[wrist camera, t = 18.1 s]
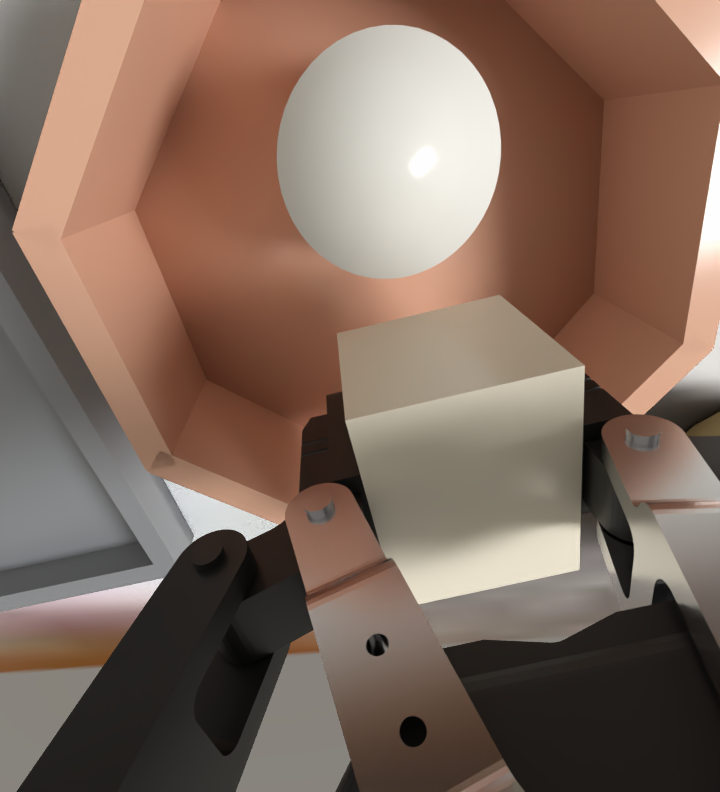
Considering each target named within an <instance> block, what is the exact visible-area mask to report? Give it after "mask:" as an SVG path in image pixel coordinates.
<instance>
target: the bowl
mask: <svg viewBox="0 0 720 792" xmlns="http://www.w3.org/2000/svg"><path fill="white" fill-rule="evenodd" d="M382 25H404V26H410V27H415V28H420V29H422V30H425V31H428V32H431V33H434V34H435V35H437V36H439V37H441V38H443V39H444V40H446V41H448V42H449V43H451V44H452V45H453V46H454V47H456V48H457V49H458V50H460V51H461V52H462V53H463V54H464V55H465V56H466V57H467V59H468V60H469V61H470V62H471V63H472V64H473V65H474V67H475V68H476V70H477V71H478V72H479V74H480V75H481V77H482V78H483V80H484V82H485V84H486V86H487V88H488V90H489V92H490V94H491V97H492V100H493V103H494V105H495V108H496V112H497V117H498V121H499V127H500V137H501V160H500V167H499V175H498V179H497V183H496V187H495V190H494V193H493V196H492V199H491V201H490V204H489V206H488V208H487V210H486V212H485V214H484V216H483V218H482V220H481V221H480V223H479V224H478V226H477V228H476V229H475V231H474V232H473V233H472V234H471V236H470V237H469V238H468V239H467V240H466V242H465V243H464V244H463V245H462V246H461V247H460V248H459V249H458V250H456V251H455V252H454V253H453V254H452V255H450V256H449V257H448V258H446V259H445V260H444V261H442V262H440V263H439V264H437V265H435V266H434V267H432V268H430V269H427V270H425V271H423V272H421V273H417V274H414V275H411V276H407V277H401V278H395V279H377V278H368V277H364V276H359V275H355V274H353V273H350V272H348V271H345V270H343V269H341V268H339V267H337V266H335V265H334V264H332V263H330V262H329V261H328V260H326V259H325V258H323V257H322V256H321V255H320V254H318V253H317V252H316V251H315V250H314V249H313V248H312V247H311V246H310V245H309V244H308V242H307V241H306V240H305V239H304V238H303V236H302V235H301V234H300V232H299V231H298V229H297V227H296V226H295V224H294V223H293V221H292V219H291V217H290V214H289V212H288V210H287V208H286V205H285V202H284V199H283V196H282V193H281V189H280V184H279V179H278V170H277V141H278V134H279V128H280V123H281V120H282V116H283V113H284V109H285V107H286V104H287V102H288V99H289V97H290V95H291V92H292V91H293V89H294V87H295V85H296V84H297V82H298V80H299V79H300V77H301V76H302V74H303V73H304V72H305V70H306V69H307V68H308V67H309V65H310V64H311V63H312V62H313V61H314V60H315V59H316V58H317V57H318V56H319V55H320V54H321V53H322V52H323V51H324V50H326V49H327V48H328V47H330V46H331V45H332V44H334V43H335V42H337V41H338V40H340V39H342V38H344V37H346V36H348V35H350V34H352V33H354V32H357V31H360V30H363V29H366V28H369V27H376V26H382ZM12 231H14V232H13V235H14V237H15V239H16V240H17V242H18V244H19V246H20V247H21V249H22V251H23V253H24V254H25V256H26V258H27V260H28V262H29V263H30V265H31V267H32V269H33V270H34V272H35V274H36V276H37V278H38V279H39V281H40V283H41V285H42V286H43V288H44V290H45V292H46V294H47V295H48V297H49V299H50V301H51V302H52V304H53V306H54V308H55V310H56V311H57V313H58V315H59V317H60V318H61V320H62V322H63V324H64V326H65V327H66V329H67V331H68V333H69V334H70V336H71V338H72V340H73V342H74V343H75V345H76V347H77V349H78V350H79V352H80V354H81V356H82V358H83V359H84V361H85V363H86V365H87V366H88V368H89V370H90V372H91V374H92V375H93V377H94V379H95V381H96V382H97V384H98V386H99V388H100V390H101V391H102V393H103V395H104V397H105V398H106V400H107V402H108V404H109V406H110V407H111V409H112V411H113V413H114V414H115V416H116V418H117V420H118V422H119V423H120V425H121V427H122V429H123V430H124V432H125V434H126V436H127V438H128V439H129V441H130V443H131V445H132V446H133V448H134V450H135V452H136V454H137V455H138V457H139V459H140V461H141V462H142V464H143V466H144V468H145V470H146V471H148V473H151V474H153V475H156V476H158V477H161V478H163V479H166V480H168V481H171V482H174V483H176V484H179V485H181V486H184V487H186V488H189V489H191V490H194V491H196V492H199V493H201V494H204V495H206V496H209V497H211V498H214V499H216V500H219V501H221V502H224V503H226V504H229V505H231V506H234V507H236V508H239V509H241V510H244V511H246V512H249V513H251V514H254V515H256V516H259V517H261V518H264V519H266V520H269V521H271V522H274V523H276V524H281V523H282V522H283V521H284V520H285V512H286V508H287V506H288V505H289V503H290V502H291V500H292V499H293V498H294V497H295V496H296V495H297V494H299V481H300V463H301V457H302V456H301V446H302V430H303V429H304V427H305V426H306V424H307V423H308V421H309V420H310V418H312V417H316V416H321V415H325V414H327V404H326V395H329V394H333V393H337V392H342V382H341V372H340V362H339V351H338V341H337V333H340V332H345V331H349V330H353V329H357V328H361V327H366V326H370V325H374V324H378V323H383V322H387V321H391V320H395V319H399V318H404V317H408V316H412V315H416V314H420V313H425V312H429V311H433V310H437V309H441V308H446V307H450V306H454V305H458V304H463V303H467V302H471V301H475V300H479V299H484V298H488V297H492V296H496V295H501V296H502V297H503V298H504V299H505V300H507V301H508V302H509V303H510V304H512V305H513V306H514V307H515V308H516V309H518V310H519V311H520V312H521V313H522V314H524V315H525V316H526V317H527V318H528V319H530V320H531V321H532V322H533V323H534V324H536V325H537V326H538V327H539V328H540V329H542V330H543V331H544V332H545V333H546V334H548V335H549V336H550V337H551V338H552V339H554V340H555V341H556V342H557V343H558V344H560V345H561V346H562V347H563V348H564V349H566V350H567V351H568V352H569V353H570V354H572V355H573V356H574V357H575V358H576V359H578V360H579V361H580V362H581V363H582V364H584V365H585V373H586V374H587V375H588V376H589V377H590V378H591V380H594V381H595V382H596V383H597V384H598V385H600V387H601V389H602V388H603V389H604V390H605V391H607V392H608V393H609V394H610V395H611V396H612V397H614V398H615V399H616V400H617V401H618V402H619V403H621V404H622V405H623V406H624V407H625V408H626V409H627V410H629V411H630V412H631V413H632V414H642V415H644V414H645V413H646V412H647V411H648V410H649V409H651V408H652V407H653V406H654V405H655V404H656V403H657V402H658V401H659V400H660V399H661V398H662V397H663V396H664V395H665V394H666V393H667V392H669V391H670V390H671V389H672V388H673V387H674V386H675V385H676V384H677V383H678V382H679V381H680V380H681V379H682V378H683V377H684V376H686V375H687V374H688V373H689V372H690V371H691V370H692V369H693V368H694V367H695V366H696V365H697V364H698V363H699V362H700V361H701V360H702V359H704V358H705V357H706V356H707V355H708V354H709V353H710V352H711V351H712V348H714V344H715V339H716V334H717V329H718V324H719V320H720V0H81V4H80V7H79V10H78V14H77V17H76V20H75V24H74V27H73V30H72V34H71V37H70V40H69V43H68V47H67V50H66V53H65V57H64V60H63V63H62V67H61V70H60V73H59V76H58V80H57V83H56V86H55V90H54V93H53V96H52V100H51V103H50V106H49V109H48V113H47V116H46V119H45V123H44V126H43V129H42V133H41V136H40V139H39V142H38V146H37V149H36V152H35V156H34V159H33V162H32V166H31V169H30V172H29V175H28V179H27V182H26V185H25V189H24V192H23V195H22V199H21V202H20V205H19V208H18V212H17V215H16V218H15V222H14V225H13V228H12Z"/></svg>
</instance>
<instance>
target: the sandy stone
mask: <svg viewBox="0 0 720 792" xmlns="http://www.w3.org/2000/svg"><path fill="white" fill-rule="evenodd" d="M337 341H338V351H339V362H340V372H341V382H342V393H343V403H344V413H345V422H346V425H347V429H348V432H349V436H350V440H351V443H352V447H353V450H354V454H355V457H356V461H357V464H358V468H359V472H360V475H361V479H362V482H363V486H364V489H365V493H366V497H367V500H368V504H369V507H370V511H371V514H372V518H373V522H374V525H375V529H376V532H377V536H378V539H379V543H380V547H381V549H382V551H383V553H384V554H385V556H386V558H387V559H388V558H390V557H391V558H392V559H393V560H394V561H395V563H396V564H397V566H398V568H399V570H400V571H401V573H402V575H403V577H404V579H405V581H406V582H407V584H408V586H409V588H410V590H411V592H412V593H413V595H414V597H415V599H416V601H417V603H418V604H422V603H427V602H431V601H436V600H441V599H445V598H450V597H455V596H459V595H464V594H469V593H473V592H478V591H483V590H487V589H492V588H497V587H501V586H506V585H511V584H515V583H520V582H525V581H529V580H534V579H539V578H543V577H548V576H553V575H557V574H562V573H567V572H571V571H576V570H579V563H580V526H581V489H582V452H583V415H584V378H585V365H584V364H582V363H581V362H580V361H579V360H578V359H576V358H575V357H574V356H573V355H572V354H570V353H569V352H568V351H567V350H566V349H564V348H563V347H562V346H561V345H560V344H558V343H557V342H556V341H555V340H554V339H552V338H551V337H550V336H549V335H548V334H546V333H545V332H544V331H543V330H542V329H540V328H539V327H538V326H537V325H536V324H534V323H533V322H532V321H531V320H530V319H528V318H527V317H526V316H525V315H524V314H522V313H521V312H520V311H519V310H518V309H516V308H515V307H514V306H513V305H512V304H510V303H509V302H508V301H507V300H505V299H504V298H503V297H502V296H501V295H496V296H492V297H488V298H484V299H479V300H475V301H471V302H467V303H463V304H458V305H454V306H450V307H446V308H441V309H437V310H433V311H429V312H425V313H420V314H416V315H412V316H408V317H404V318H399V319H395V320H391V321H387V322H383V323H378V324H374V325H370V326H366V327H361V328H357V329H353V330H349V331H345V332H340V333H337Z"/></svg>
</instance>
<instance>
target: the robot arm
mask: <svg viewBox="0 0 720 792" xmlns="http://www.w3.org/2000/svg"><path fill="white" fill-rule="evenodd" d="M326 404H327V414H325V415H321V416H316V417H312V418H310V420H309V421H308V423H307V424H306V426H305V427H304V429H303V430H302V446H301V456H302V457H301V463H300V481H299V494H297V495H296V496H295V497H294V498H293V499H292V500H291V502H290V503H289V505H288V506H287V508H286V512H285V520H284V521H283V522H282V523H281V524H279V525H278V526H276V527H275V528H273V529H271V530H269V531H267V532H265V533H263V534H261V535H259V536H257V537H255V538H253V539H251V540H249V541H246V539H245V537H244V536H243V535H242V534H241V533H239V532H237V531H234V530H218V531H214V532H211V533H209V534H206V535H204V536H202V537H200V538H199V539H197V540H196V541H194V542H193V543H192V544H190V545H189V546H188V547H187V548H186V549H185V550H184V551H183V552H182V553H181V555H180V556H179V557H178V559H177V560H176V562H175V563H174V565H173V566H172V568H171V569H170V570H169V572H168V573H167V575H166V576H165V578H164V579H163V581H162V582H161V583H160V585H159V586H158V588H157V589H156V591H155V592H154V594H153V595H152V596H151V598H150V599H149V601H148V602H147V604H146V605H145V607H144V608H143V609H142V611H141V612H140V614H139V615H138V617H137V618H136V620H135V621H134V622H133V624H132V625H131V627H130V628H129V630H128V631H127V633H126V634H125V636H124V637H123V638H122V640H121V641H120V643H119V644H118V646H117V647H116V649H115V650H114V651H113V653H112V654H111V656H110V657H109V659H108V660H107V662H106V663H105V664H104V666H103V667H102V669H101V670H100V672H99V673H98V675H97V676H96V678H95V679H94V680H93V682H92V684H91V685H90V686H89V688H88V689H87V690H86V692H85V693H84V695H83V696H82V698H81V699H80V701H79V702H78V704H77V705H76V706H75V708H74V709H73V711H72V712H71V714H70V715H69V717H68V718H67V720H66V721H65V723H64V724H63V725H62V727H61V728H60V730H59V731H58V732H57V734H56V735H55V737H54V738H53V740H52V741H51V743H50V744H49V746H48V747H47V748H46V750H45V751H44V753H43V754H42V756H41V757H40V758H39V760H38V761H37V763H36V764H35V766H34V767H33V769H32V770H31V771H30V773H29V774H28V776H27V777H26V779H25V780H24V782H23V783H22V785H21V786H20V787H19V789H18V790H17V792H236V789H237V786H238V784H239V781H240V778H241V776H242V773H243V770H244V768H245V765H246V762H247V760H248V757H249V754H250V752H251V749H252V746H253V744H254V741H255V738H256V736H257V733H258V730H259V728H260V725H261V722H262V720H263V717H264V714H265V712H266V709H267V706H268V704H269V701H270V698H271V696H272V693H273V690H274V688H275V685H276V682H277V680H278V677H279V674H280V672H281V669H282V666H283V664H284V661H285V658H286V656H287V653H288V650H289V647H290V643H291V642H293V641H294V640H296V639H298V638H300V637H302V636H303V635H305V634H307V633H309V632H310V631H312V630H314V633H315V636H316V640H317V644H318V647H319V651H320V654H321V658H322V661H323V665H324V668H325V671H326V675H327V679H328V682H329V686H330V689H331V693H332V696H333V700H334V703H335V706H336V710H337V714H338V717H339V721H340V724H341V727H342V731H343V735H344V738H345V742H346V745H347V749H348V752H349V756H350V759H351V761H350V763H349V765H348V767H347V769H346V771H345V773H344V775H343V777H342V779H341V782H340V784H339V786H338V788H337V790H336V792H720V436H687V435H686V434H685V432H684V431H683V430H682V429H681V428H680V427H679V426H677V425H676V424H674V423H672V422H671V421H668V420H666V419H663V418H660V417H656V416H651V415H642V414H632V413H631V412H630V411H629V410H627V409H626V408H625V407H624V406H623V405H622V404H621V403H619V402H618V401H617V400H616V399H615V398H614V397H612V396H611V395H610V394H609V393H608V392H607V391H605V390H604V389H603V388H602V389H601V387H600V385H598V384H597V383H596V382H595V381H594V380H591V378H590V377H589V376H588V375H587V374H586V373H585V378H584V415H583V452H582V489H581V514H583V513H588V512H592V513H593V514H594V516H595V517H596V518H597V528H596V534H597V538H598V541H599V544H600V547H601V550H602V553H603V556H604V560H605V563H606V566H607V569H608V572H609V575H610V578H611V581H612V584H613V587H614V590H615V593H616V596H617V599H618V602H619V605H620V608H621V611H619V612H615V613H614V614H612V615H610V616H608V617H606V618H604V619H602V620H600V621H598V622H597V623H595V624H593V625H591V626H589V627H587V628H585V629H583V630H582V631H580V632H578V633H576V634H574V635H572V636H570V637H568V638H567V639H565V640H562V641H560V642H555V643H544V642H522V641H499V640H481V641H476V642H471V643H466V644H462V645H457V646H452V647H447V648H442V646H441V645H440V643H439V641H438V639H437V637H436V635H435V634H434V632H433V630H432V628H431V626H430V624H429V623H428V621H427V619H426V617H425V615H424V613H423V612H422V610H421V608H420V606H419V604H418V603H417V601H416V599H415V597H414V595H413V593H412V592H411V590H410V588H409V586H408V584H407V582H406V581H405V579H404V577H403V575H402V573H401V571H400V570H399V568H398V566H397V564H396V563H395V561H394V560H393V559H392V558H391V557H390V558H388V559H387V558H386V556H385V554H384V553H383V551H382V549H381V547H380V543H379V539H378V536H377V532H376V529H375V525H374V522H373V518H372V514H371V511H370V507H369V504H368V500H367V497H366V493H365V489H364V486H363V482H362V479H361V475H360V472H359V468H358V464H357V461H356V457H355V454H354V450H353V447H352V443H351V440H350V436H349V432H348V429H347V425H346V422H345V413H344V403H343V393H342V392H337V393H333V394H329V395H326Z"/></svg>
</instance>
